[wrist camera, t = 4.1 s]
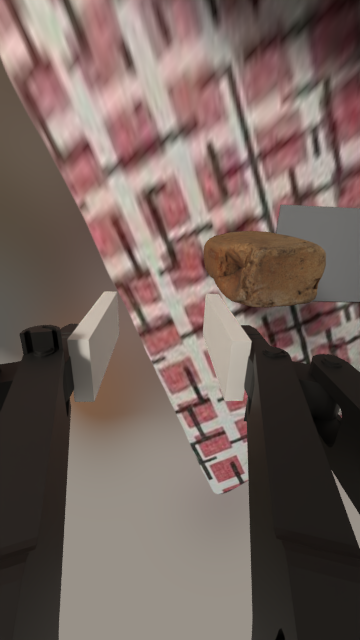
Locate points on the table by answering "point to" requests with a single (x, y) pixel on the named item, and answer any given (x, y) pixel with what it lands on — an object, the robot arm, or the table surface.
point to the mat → (329, 246)
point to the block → (265, 268)
